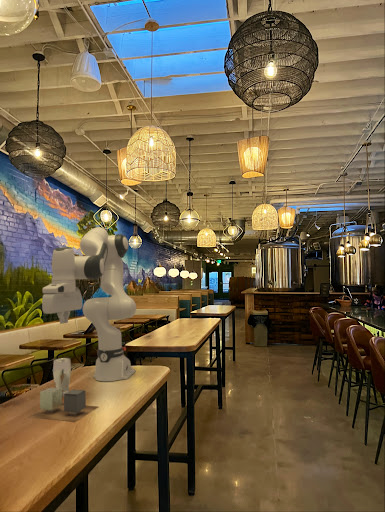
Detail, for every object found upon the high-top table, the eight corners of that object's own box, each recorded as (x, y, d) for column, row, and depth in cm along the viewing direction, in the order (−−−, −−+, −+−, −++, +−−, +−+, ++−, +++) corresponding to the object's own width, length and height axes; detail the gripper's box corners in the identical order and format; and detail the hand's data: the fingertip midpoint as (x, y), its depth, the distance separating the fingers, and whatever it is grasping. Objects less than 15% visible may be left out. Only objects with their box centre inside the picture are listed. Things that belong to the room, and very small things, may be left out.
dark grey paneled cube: (73, 406, 132) (73, 389, 132) (85, 407, 130) (85, 390, 131) (64, 411, 127) (63, 393, 127) (76, 412, 125) (76, 394, 126)
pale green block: (49, 408, 135) (49, 387, 135) (61, 409, 133) (61, 388, 134) (40, 413, 130) (40, 391, 130) (52, 414, 128) (52, 392, 129)
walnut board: (56, 405, 141) (56, 402, 141) (99, 409, 135) (99, 406, 135) (27, 419, 127) (27, 416, 127) (74, 425, 121) (74, 422, 121)
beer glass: (65, 399, 147) (65, 361, 148) (49, 399, 149) (49, 361, 149) (74, 394, 154) (74, 358, 155) (59, 393, 155) (59, 357, 156)
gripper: (73, 287, 155) (73, 320, 154) (39, 288, 136) (39, 326, 135) (86, 286, 153) (86, 320, 152) (53, 288, 134) (53, 326, 133)
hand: (63, 323), depth 143 cm, fingers closed
